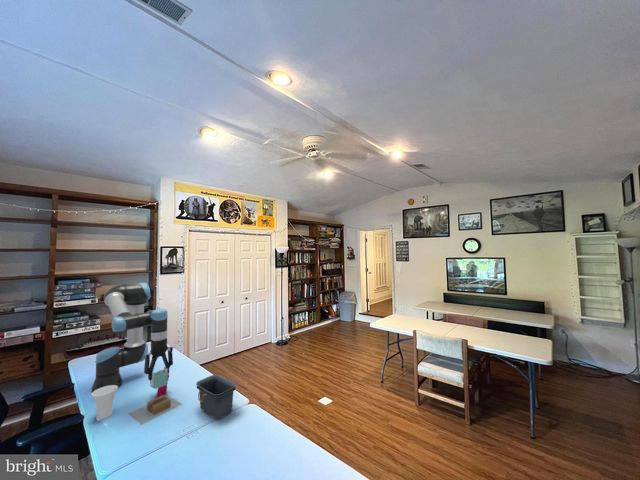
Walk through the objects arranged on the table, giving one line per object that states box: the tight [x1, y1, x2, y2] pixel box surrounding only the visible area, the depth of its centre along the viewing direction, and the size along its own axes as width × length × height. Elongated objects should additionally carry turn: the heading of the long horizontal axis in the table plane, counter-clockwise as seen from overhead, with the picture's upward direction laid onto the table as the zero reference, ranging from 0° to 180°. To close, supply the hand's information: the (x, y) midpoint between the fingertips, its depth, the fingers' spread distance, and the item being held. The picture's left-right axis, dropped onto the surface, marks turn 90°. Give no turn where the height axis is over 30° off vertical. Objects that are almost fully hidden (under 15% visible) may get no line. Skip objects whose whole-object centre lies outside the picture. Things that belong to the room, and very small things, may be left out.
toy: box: [155, 369, 170, 398], centre depth 151 cm, size 8×8×15 cm
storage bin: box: [195, 374, 237, 421], centre depth 135 cm, size 21×16×14 cm
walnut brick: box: [146, 394, 171, 415], centre depth 138 cm, size 8×8×4 cm
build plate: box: [127, 395, 183, 426], centre depth 137 cm, size 16×20×1 cm
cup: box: [91, 385, 118, 422], centre depth 133 cm, size 10×10×14 cm
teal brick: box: [149, 369, 169, 390], centre depth 138 cm, size 6×6×6 cm
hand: (158, 382), depth 138 cm, fingers closed on teal brick, 6 cm apart
